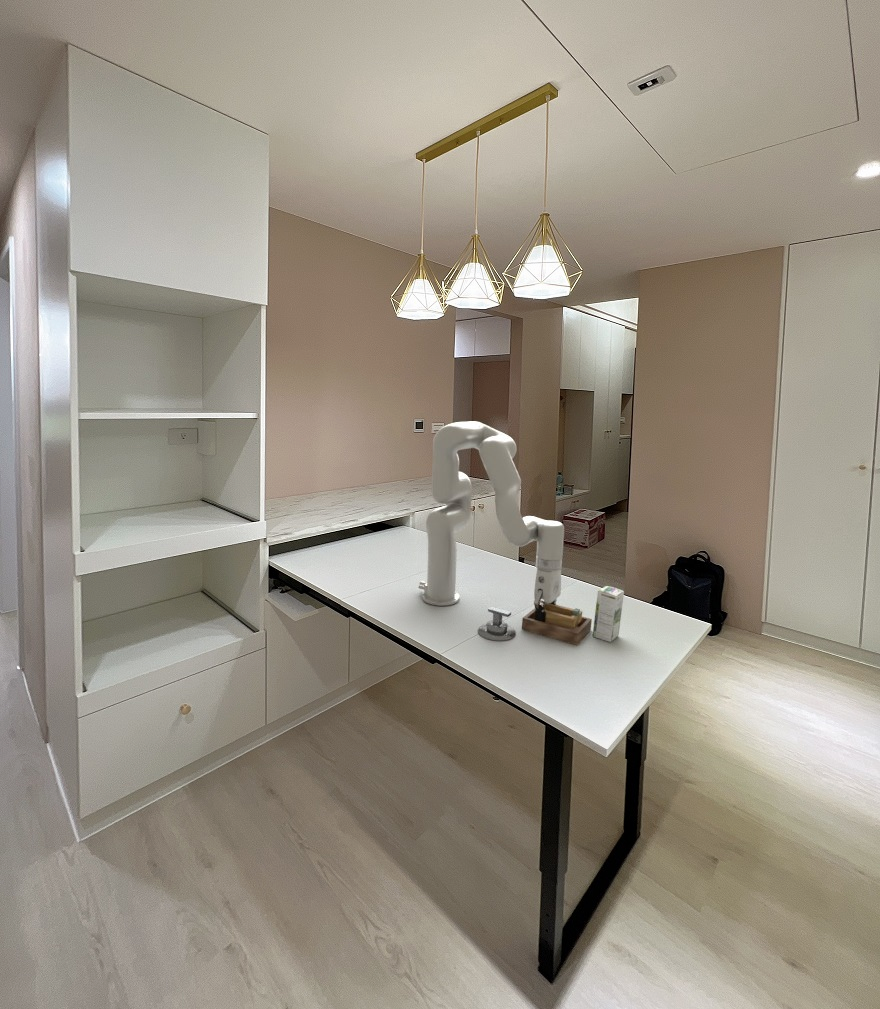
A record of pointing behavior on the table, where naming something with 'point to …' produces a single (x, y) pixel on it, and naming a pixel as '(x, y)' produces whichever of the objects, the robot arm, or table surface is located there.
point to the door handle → (497, 627)
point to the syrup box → (608, 613)
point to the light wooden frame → (562, 615)
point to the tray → (557, 629)
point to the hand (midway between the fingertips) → (544, 618)
